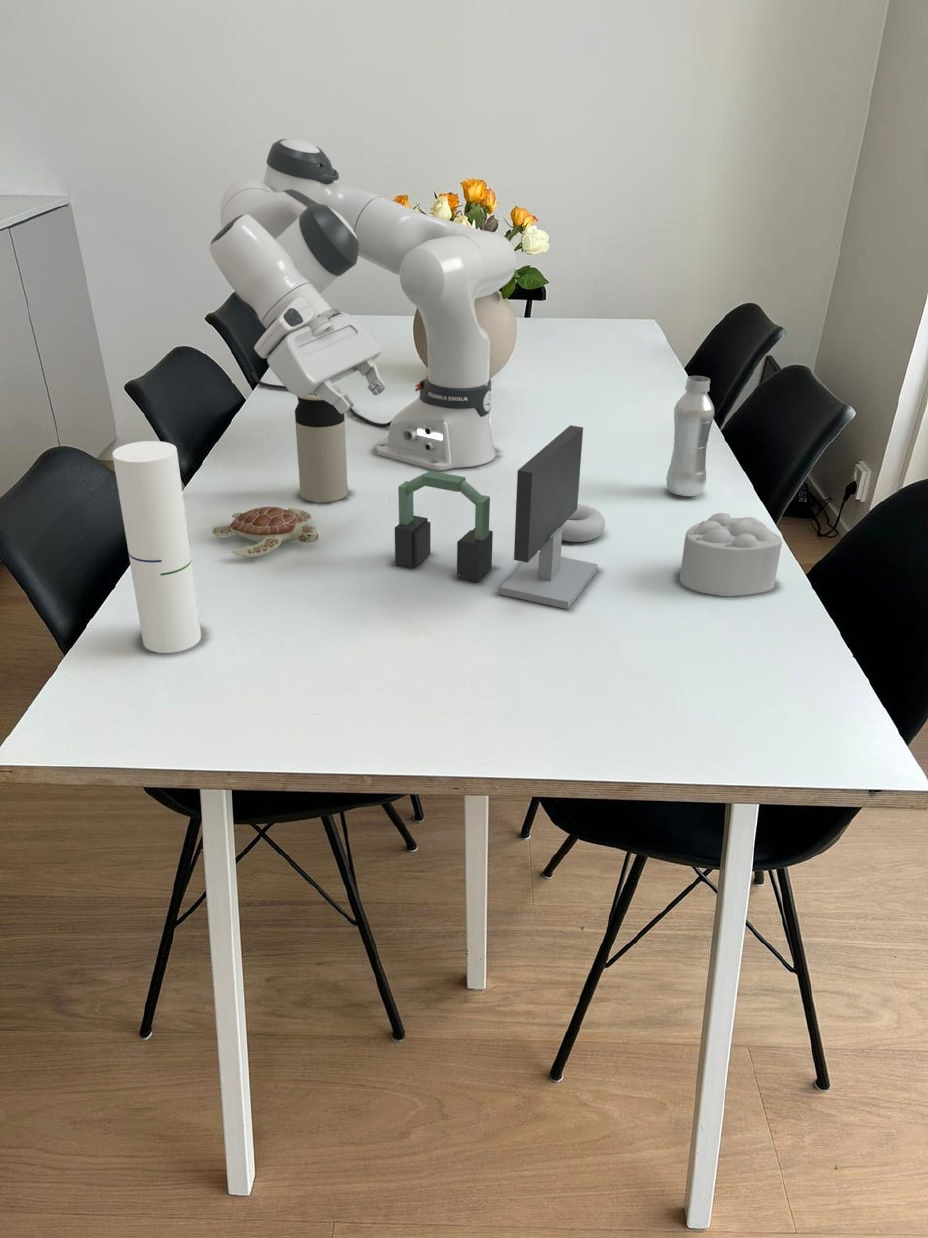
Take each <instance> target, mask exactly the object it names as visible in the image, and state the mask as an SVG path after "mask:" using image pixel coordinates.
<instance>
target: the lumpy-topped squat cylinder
mask: <svg viewBox="0 0 928 1238" xmlns="http://www.w3.org/2000/svg"><path fill="white" fill-rule="evenodd" d="M683 543H684V544H683V551H682V558H681V566H680V573H679V582H680V584H681V585H682V586H684V587H685V588H687V589H689V590H692V591H694V592H698V593H702V594H707V595H712V596H719V597H720V596H721V597H740V596H741V597H742V596H751V595H755V594H756V595H757V594H762V593H767V592H770V591H772V590H773V589H774V588H775V584H776V578H777V573H778V567H779V561H780V555H781V549H782V546H783V545H782V543H783V540H782V538H781V536H780V535H778V534H777V533H775V532H774V531H772V530H771V529H769V528H768V527H767V526H766V524H764V523H763V522H762V521H760V520H758V519H757V518H755V517H752V516H747V517H746V516H745V517H731V515H730V514H729V513H726V512H717V513H714V514H713V515H711V516H710V517H709V518H708V519H707V520H702V521H701V522H699V523H697V524H694V525H692V526H691V527H689V528H688V529H687V531H686V533H685V537H684V542H683Z"/></svg>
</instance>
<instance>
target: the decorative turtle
mask: <svg viewBox="0 0 928 1238" xmlns="http://www.w3.org/2000/svg"><path fill="white" fill-rule="evenodd" d="M231 518H233V520H232V522H231V523H230V525H221V526H214V527H213V528H212V529H211V532H212V534H213V535H215V536H218V537H230V536H235V535H237V536H240V537H242V538H243V539H247V540H250V541H252V542H256V544H253V545H247V546H242V547H235V548H232V549H231V554H232V555H235V556H239V557H244V558H258V557H260V556H264V555H266V554H268V553H270V552H272V551H275V550H276V549H278V548H279V547H280V546H281V544H283V543H290V542H296V541H298V542H300V543H303V544H304V543H305V544H310V543H314V542H316V541H318V540H319V537H320V536H319V533H318V530H317V528H316V527H314V526H311V525H308V524H309V523H310V522H311V520H312V515H311V514H310V513H309V512H306V511H304V510H303V509H299V508H294V507H288V508H287V509H285V508H282V507H278V506H261V507H256V508H252V509H250V510H248V511H245V512H236V513H233V514H232V515H231Z"/></svg>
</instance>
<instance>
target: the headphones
mask: <svg viewBox="0 0 928 1238" xmlns="http://www.w3.org/2000/svg"><path fill="white" fill-rule="evenodd" d="M424 487H428V488H434V489H439V490H446V491H450V492H456V493H459V492H460V493H461V494H462V495H463V496H464V497H466V498H467V499H468V500H469V501H470V502H471V503H472V504H473V505H475V506H474V507H475V508H474V509H475V511H474V513H475V514H474V528H473V529H470V530H469V531H467V533H465V534H464V535H463V536H462V537H461V538H460V539H459V540H458V541H457V542H456V576H459V579H460V580H462V581H468V582H472V583H476V584H477V583H479V582H480V581H481V580H482V579H483V578H484V577H485V576H486V575H487V574H488V573H489V572H490V571H491V570H492V568H493V539H494V537H493V536H494V531H493V530H490V510H491V509H490V508H491V496H489V495H485V494H484V495H483V494H481V493H480V492H478V490H476V489H475V488H474V487H473V486H472V485H471V484H469V482H467V481H466V476H460V475H455V474H450V473H446V472H445V473H444V472H438V471H435V470H429V471H427V472H424V473H422V474H421V475H419V476H416V477H414V478H413V479H411V480H409V481H408V480H405V481H404V482H403V483H401V484H400V485H398V489H397V490H398V524H397V525H396V526H395V527H394V561H395V562H394V564H395V565H394V566H399V567H403V568H408V569H413V568H415V567H417V566H419V565H420V564H421V563H422V562H423V561H424V560H425V559H426V558H428V557H429V556H430V555H431V551H432V549H431V521H428V520H429V518H428V517H425V516H424V517H423V516H419V515H415V514H414V512H415V511H414V492H416V491H418V490H420V489H422V488H424Z"/></svg>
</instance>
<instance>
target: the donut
mask: <svg viewBox="0 0 928 1238" xmlns="http://www.w3.org/2000/svg"><path fill="white" fill-rule="evenodd" d="M605 527H606V519H605V518H604V516H603V514H602V513H601V512H600V510H597V509H596V508H594V507H591V506H589V505H585V504H580V503H578V505H577V510H576V511H575V512H574V513H573V514H572V515H571V517H570V518H569V519H568V520H567V521H566V522H565V523H564V524H563V525H562V526H561V527H560V528H562V542H570V543H583V542H589V541H592V540H594V539H597V538H598V537H599V536H600V535H602V533H604V530H605Z"/></svg>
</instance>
